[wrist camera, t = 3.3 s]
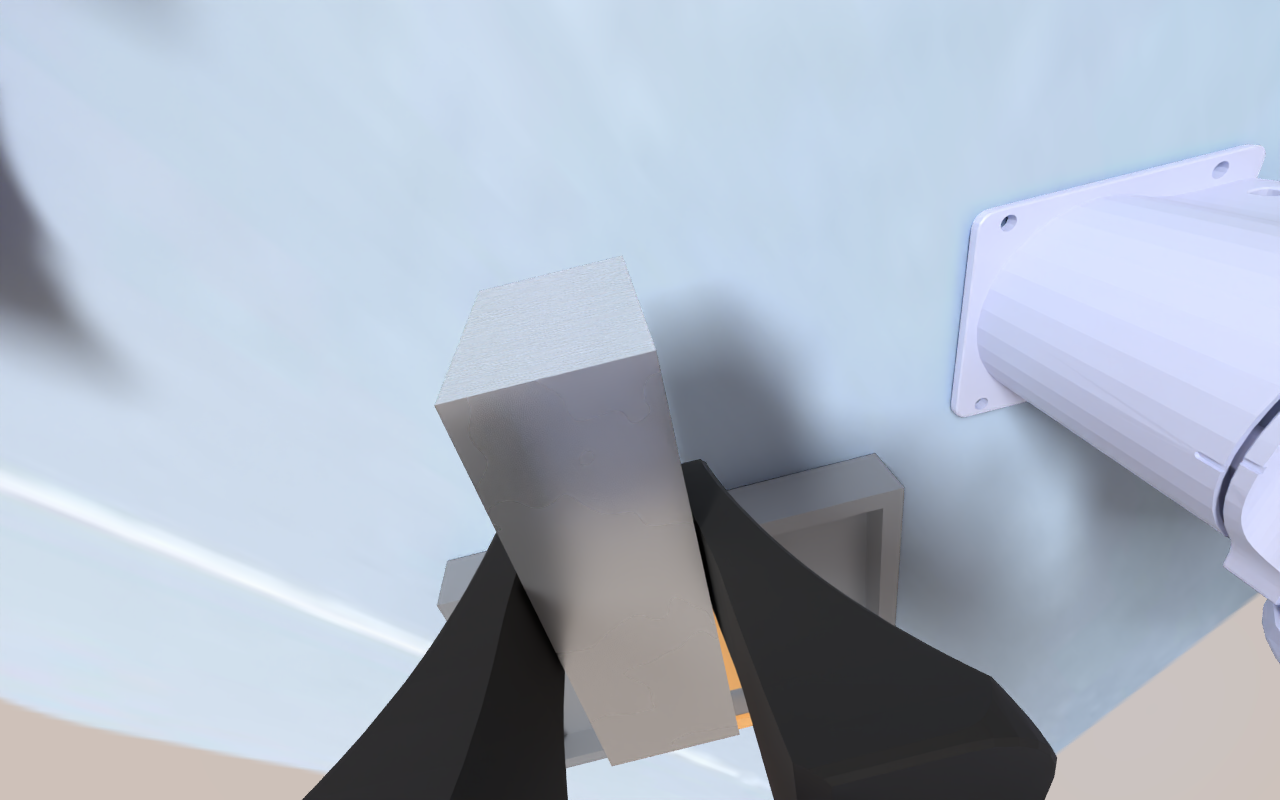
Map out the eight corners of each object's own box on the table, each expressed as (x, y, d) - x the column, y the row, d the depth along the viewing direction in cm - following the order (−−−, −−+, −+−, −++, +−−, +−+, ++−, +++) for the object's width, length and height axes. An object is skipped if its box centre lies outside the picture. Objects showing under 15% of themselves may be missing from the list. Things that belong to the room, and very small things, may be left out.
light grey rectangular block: (622, 255, 11) (656, 349, 7) (696, 579, 16) (739, 734, 12) (478, 290, 11) (434, 405, 7) (599, 602, 16) (611, 766, 12)
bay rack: (875, 453, 22) (907, 491, 20) (869, 647, 29) (893, 690, 27) (447, 561, 22) (435, 609, 20) (545, 729, 29) (544, 778, 27)
